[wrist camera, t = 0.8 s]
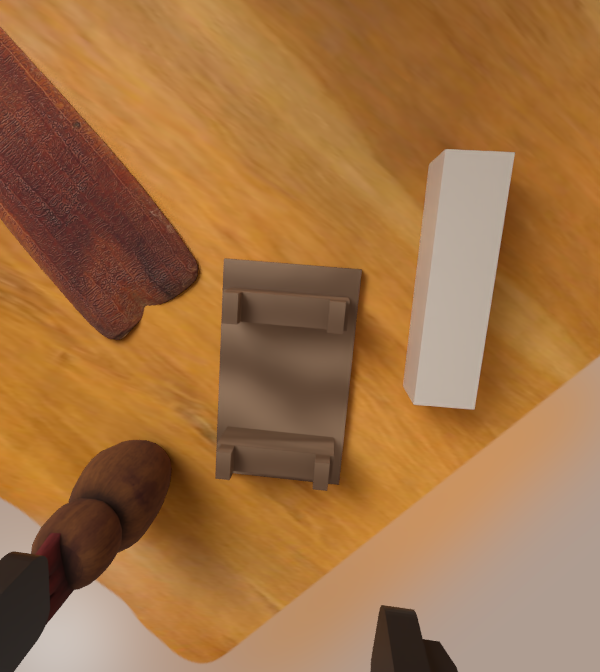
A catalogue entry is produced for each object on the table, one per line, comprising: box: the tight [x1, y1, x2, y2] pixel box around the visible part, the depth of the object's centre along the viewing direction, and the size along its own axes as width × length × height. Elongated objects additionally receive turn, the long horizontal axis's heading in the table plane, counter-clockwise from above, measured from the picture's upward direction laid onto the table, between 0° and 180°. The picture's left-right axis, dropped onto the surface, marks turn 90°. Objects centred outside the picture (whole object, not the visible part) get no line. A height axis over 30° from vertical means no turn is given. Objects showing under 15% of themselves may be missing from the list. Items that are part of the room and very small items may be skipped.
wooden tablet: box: [0, 27, 198, 340], centre depth 29 cm, size 27×10×2 cm, turn 38°
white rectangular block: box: [403, 149, 515, 410], centre depth 27 cm, size 16×4×4 cm, turn 177°
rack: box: [216, 259, 362, 491], centre depth 29 cm, size 17×10×5 cm, turn 176°
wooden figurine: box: [31, 440, 172, 624], centre depth 26 cm, size 7×6×15 cm
